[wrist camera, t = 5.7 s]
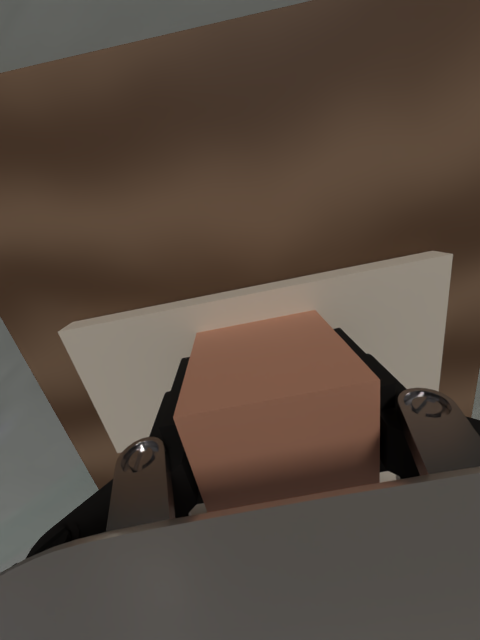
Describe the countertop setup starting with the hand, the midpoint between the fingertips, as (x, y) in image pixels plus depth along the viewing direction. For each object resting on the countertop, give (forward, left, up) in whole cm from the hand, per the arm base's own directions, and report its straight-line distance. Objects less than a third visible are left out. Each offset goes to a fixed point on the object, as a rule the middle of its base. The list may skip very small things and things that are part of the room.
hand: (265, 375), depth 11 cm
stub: (0, 0, -2) cm, 2 cm away
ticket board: (+2, 0, -3) cm, 4 cm away
